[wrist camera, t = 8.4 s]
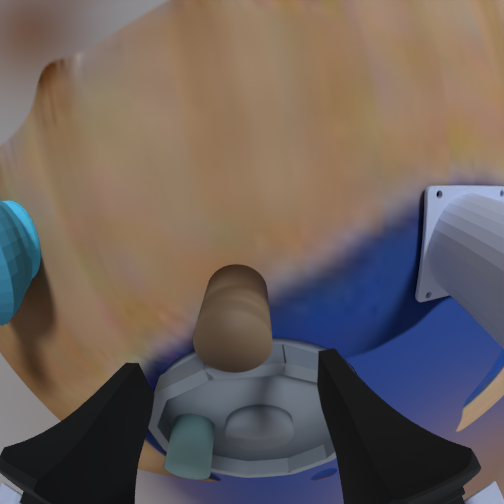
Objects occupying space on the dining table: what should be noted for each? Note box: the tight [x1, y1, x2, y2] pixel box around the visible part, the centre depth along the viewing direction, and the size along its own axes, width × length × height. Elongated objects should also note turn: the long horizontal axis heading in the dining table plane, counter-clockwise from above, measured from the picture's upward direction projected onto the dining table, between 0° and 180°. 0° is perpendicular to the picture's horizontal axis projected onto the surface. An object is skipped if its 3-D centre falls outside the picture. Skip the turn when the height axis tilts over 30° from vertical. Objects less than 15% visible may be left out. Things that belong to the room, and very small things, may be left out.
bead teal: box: [164, 413, 215, 480], centre depth 18 cm, size 4×4×5 cm
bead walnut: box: [193, 264, 273, 373], centre depth 14 cm, size 4×4×5 cm
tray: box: [148, 337, 357, 478], centre depth 20 cm, size 18×18×3 cm
